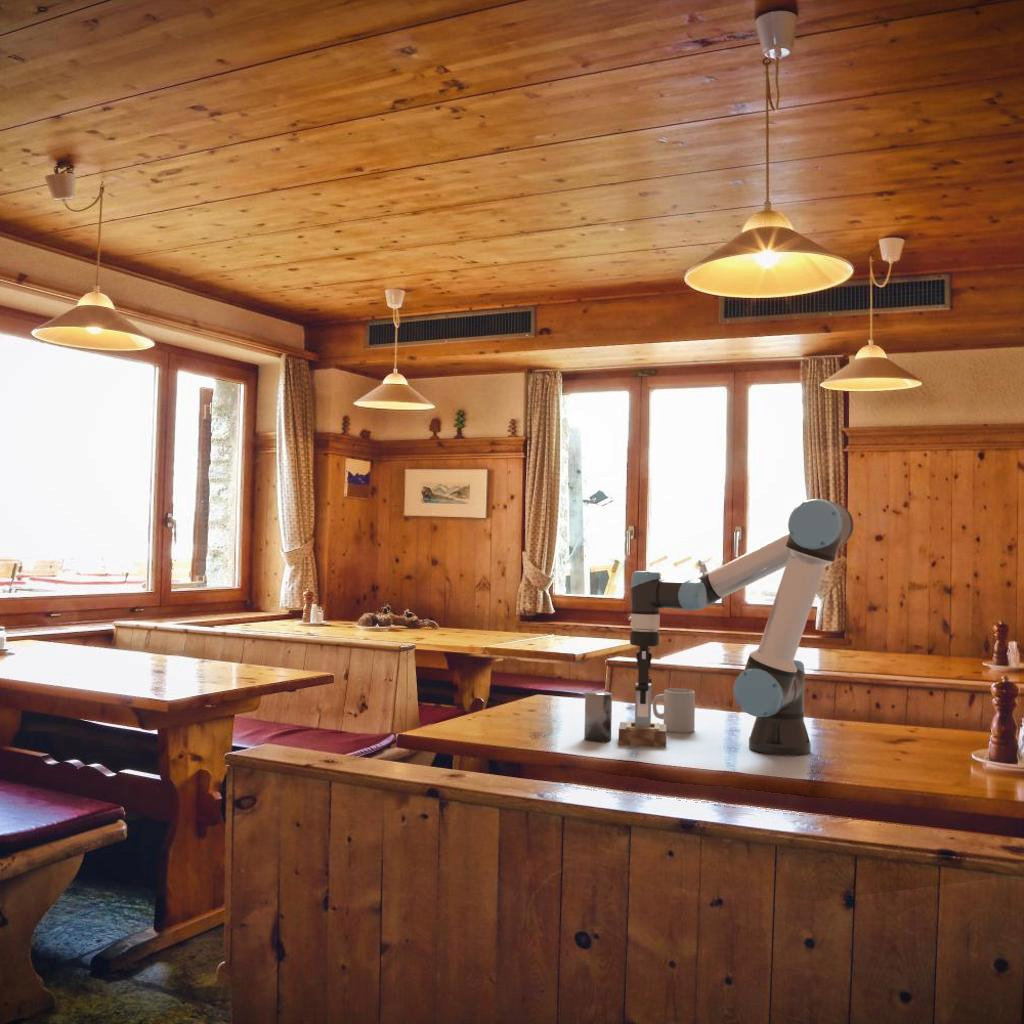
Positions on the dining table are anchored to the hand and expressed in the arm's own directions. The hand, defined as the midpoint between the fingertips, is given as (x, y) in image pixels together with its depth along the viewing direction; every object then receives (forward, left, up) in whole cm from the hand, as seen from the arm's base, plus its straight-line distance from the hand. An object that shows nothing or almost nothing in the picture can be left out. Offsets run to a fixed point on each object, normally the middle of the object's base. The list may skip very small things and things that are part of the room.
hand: (643, 712), depth 248 cm
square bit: (0, 0, -8) cm, 8 cm away
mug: (+14, -17, -8) cm, 23 cm away
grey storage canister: (+6, +10, -8) cm, 14 cm away
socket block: (0, 0, -8) cm, 8 cm away
